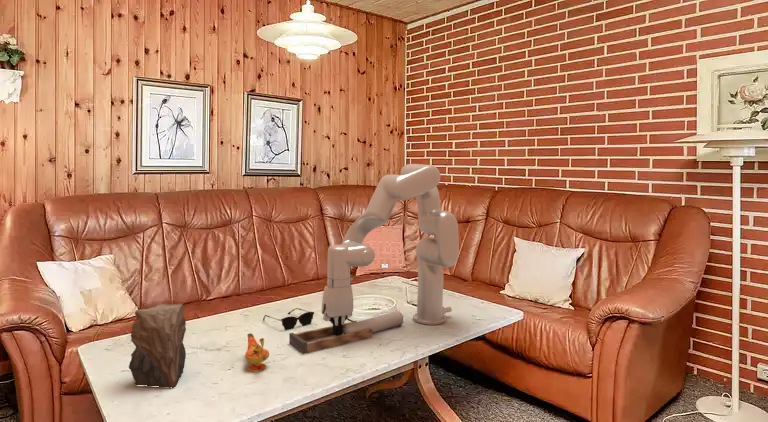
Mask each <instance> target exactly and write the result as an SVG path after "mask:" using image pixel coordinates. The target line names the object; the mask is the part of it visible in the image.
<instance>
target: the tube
mask: <svg viewBox="0 0 768 422" xmlns="http://www.w3.org/2000/svg"><path fill="white" fill-rule="evenodd" d="M403 323H404V315H403V314H402V312H401V311H399V310H395V311H392V312H388V313H385V314H380V315H377V316H374V317H371V318H366V319H362V320H360V321H357V322H355V323H352V324H348V325H346V326H345V328H344V329H343V334H348V333H352V332H357V331H361V330H366V329H372V334H375V333H378V332H382V331H384V330H388V329H391V328H394V327H398V326H402V325H403ZM343 334H342V335H343Z"/></svg>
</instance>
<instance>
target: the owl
mask: <svg viewBox="0 0 768 422" xmlns="http://www.w3.org/2000/svg"><path fill="white" fill-rule="evenodd" d="M184 311H185V306H184V303H183V302H180V303H159V304H157V305H155V306H151V307H149V308H140V309H136V310H135V311H134V315H135V316H136V319H135V320H134V322H133V324H132V326H131V331H130V338H131V339H130V341H131V342H132V344H133V345H134V346H135V348H134V350H133V351H132V353H131V360H130V362H129V364H128V368H129V370H130V373H131V375H132V377H133V380H134V382H135V383H134V385H135V384H136V385H147V386H159V387H172V388H171V389H175V388H174V387H176V388H177V385H178V383H179V382H178V381H179V380H180V379H181V378H180V377H182V375H183V374H184V369H185V365H186V364H185V363H186V357H187V356H186V355H187V353H186V349H185V348H186V347H185V345H184V343H183V342H184V338H185V334H186V331H187V328H186V325H187V322H186V320H187V319H186V317H185V316H184V313H185V312H184ZM182 373H183V374H182ZM181 374H182V375H181ZM179 378H180V379H179ZM159 387H158V388H159Z"/></svg>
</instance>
